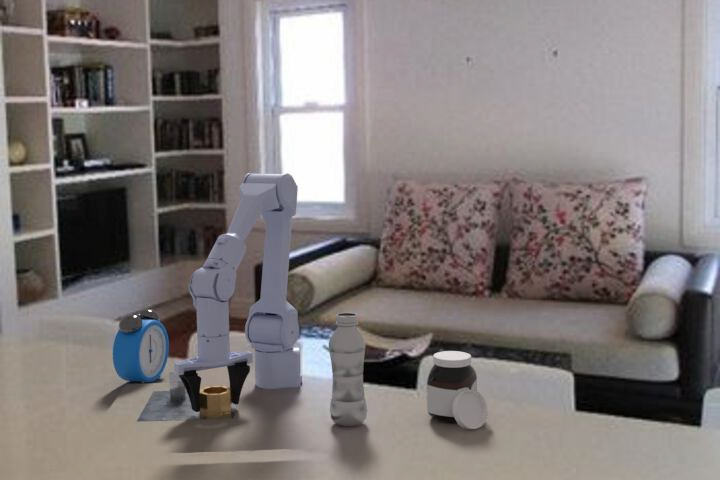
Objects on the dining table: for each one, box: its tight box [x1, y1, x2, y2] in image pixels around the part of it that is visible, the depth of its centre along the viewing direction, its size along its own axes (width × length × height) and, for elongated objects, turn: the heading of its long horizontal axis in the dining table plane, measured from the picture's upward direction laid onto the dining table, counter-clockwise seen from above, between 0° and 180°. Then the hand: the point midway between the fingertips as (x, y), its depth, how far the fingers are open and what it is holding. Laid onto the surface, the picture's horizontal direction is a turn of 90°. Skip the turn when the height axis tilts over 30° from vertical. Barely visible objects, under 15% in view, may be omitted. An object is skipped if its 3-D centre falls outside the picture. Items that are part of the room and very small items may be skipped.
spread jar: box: [426, 350, 489, 430], centre depth 156 cm, size 12×11×12 cm
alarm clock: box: [112, 307, 170, 384], centre depth 183 cm, size 13×6×15 cm, turn 162°
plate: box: [136, 370, 238, 422], centre depth 163 cm, size 17×18×6 cm
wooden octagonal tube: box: [200, 385, 232, 417], centre depth 158 cm, size 6×6×4 cm
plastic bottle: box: [328, 312, 368, 427], centre depth 154 cm, size 6×7×20 cm
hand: (215, 406), depth 158 cm, fingers open, 7 cm apart
